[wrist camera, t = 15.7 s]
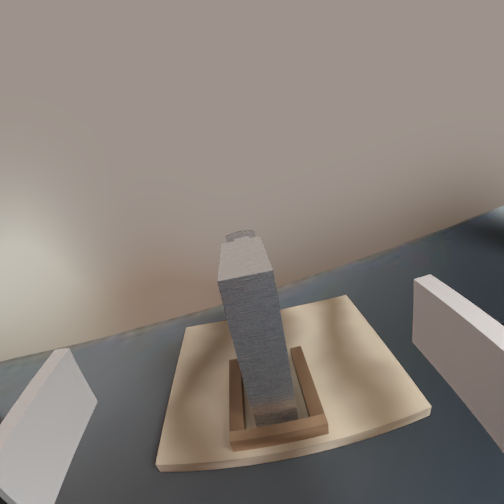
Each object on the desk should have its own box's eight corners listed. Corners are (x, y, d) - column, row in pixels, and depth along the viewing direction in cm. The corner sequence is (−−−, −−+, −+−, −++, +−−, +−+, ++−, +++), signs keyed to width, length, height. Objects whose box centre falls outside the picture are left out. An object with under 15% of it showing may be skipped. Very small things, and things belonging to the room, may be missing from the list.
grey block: (278, 344, 31) (256, 227, 28) (299, 423, 20) (273, 270, 17) (249, 350, 31) (222, 234, 28) (258, 431, 20) (217, 281, 17)
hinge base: (346, 302, 39) (345, 286, 38) (429, 415, 19) (434, 395, 18) (188, 334, 39) (183, 318, 38) (160, 472, 18) (148, 455, 18)
